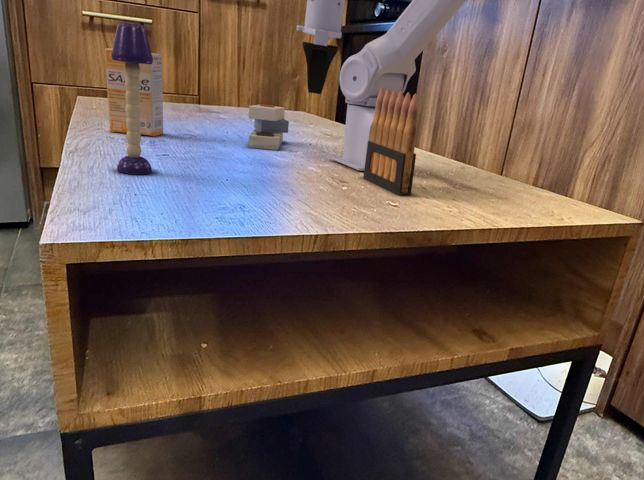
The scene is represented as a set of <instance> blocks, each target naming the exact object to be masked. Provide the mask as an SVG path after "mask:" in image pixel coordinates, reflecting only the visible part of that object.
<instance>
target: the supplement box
mask: <svg viewBox="0 0 644 480" xmlns="http://www.w3.org/2000/svg"><path fill="white" fill-rule="evenodd" d="M112 49H113V48H104V57H105V74H106V75H105V76H106V88H107V89H106V90H107V91H106V92H107V105H108V123H109V131H110V132H114V133H120V134H127V131H128V129H127V127H126V120H127V114H126V105H127V101H126V91H127V89H126V86H125V79H126V76H127V75H126V73H125V63H126V62H122V61H116V60H113V59H112V56H111V55H112ZM151 54H152V58H153V63H152V64H139V66H140V75H139V79H140V89H139V93H140V97H141V100H140V103H139V105H140V108H141V115H140V117H139V119H140V121H141V129H140V131H139V132H140V134H141V136H147V137H157V136H160V135H163V134H164V105H163V104H164V102H163V63H162V60H163V59H162V56H163V55H162V54H161V53H153V52H151Z"/></svg>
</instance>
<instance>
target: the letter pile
mask: <svg viewBox="0 0 644 480" xmlns="http://www.w3.org/2000/svg"><path fill="white" fill-rule="evenodd" d="M285 110H286V107H284V106H277V105H270V104H269V105H268V104H253V105H248V118H249V119H252V120H254V124H253V125H254V126H253V127H254V129H253V131H252V132H259V131H260V132H271V133H274V134H281V137H280V146H282V144H283V141H284V139H283V138H284V134H288V133H289V124H290V123H289V120H287V119H286V118H285Z"/></svg>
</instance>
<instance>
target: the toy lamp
mask: <svg viewBox="0 0 644 480" xmlns="http://www.w3.org/2000/svg"><path fill="white" fill-rule="evenodd" d="M147 33H148V32H147V30H146V27H145V25H143V24H138V23H133V22H125V21H119V22H118V24H117V26H116V30H115V35H114V40H113V45H112V48H111V49H112V55H111V56H112V59H113V60H116V61H122V62H126V63H125V73H126V75H127V76H126V79H125V86H126V89H127V91H126V101H127V105H126V114H127V120H126V127H127V129H128V131H127V133H126V134H125V135H126V137H125V138H126V142H127V144H126V154H127V155H125V156H123V157H122V158H120V160H119V161H118V163H117V166H116V170H117V171H118V172H120V173H123V174H129V175H148V174H152V173H153V169H152V165H151V164H150V162H149V160H148V159H146V158H145V157H143V156H141V154H142V147H141V145H140V144H141V142H142V135H141V134H140V132H139V131H140V129H141V121H140V119H139V117H140V115H141V108H140V105H139V103H140V100H141V97H140V93H139V89H140V79H139V75H140V66H139V64H152V63H153V58H152V54H151V53H152V50H151V46H150V40H149V37H148V34H147Z"/></svg>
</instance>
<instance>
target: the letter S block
mask: <svg viewBox="0 0 644 480" xmlns="http://www.w3.org/2000/svg"><path fill="white" fill-rule="evenodd" d="M280 137H281V134H274V133H271V132H260V131H259V132H253V131H251V133H250V134H249V135H248V148H250V149H259V150H260V149H261V150H270V151H271V150H272V151H279V149H280V147H281V145H280Z"/></svg>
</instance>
